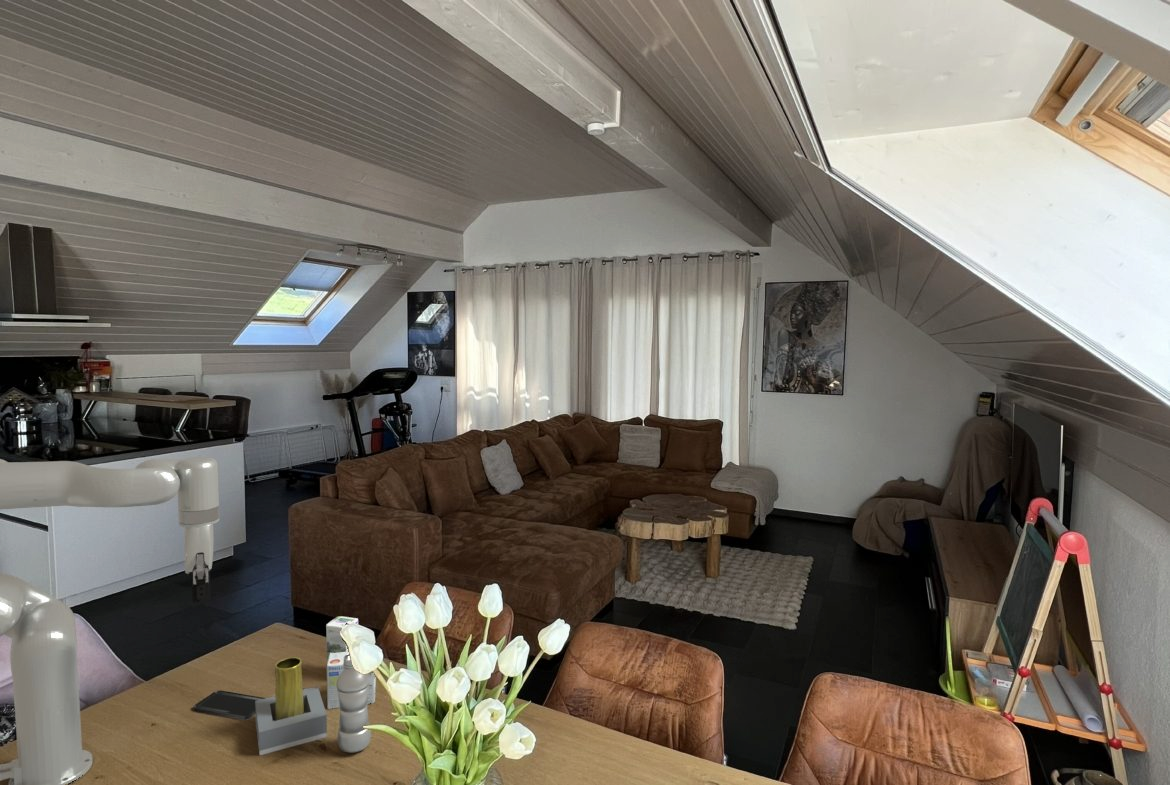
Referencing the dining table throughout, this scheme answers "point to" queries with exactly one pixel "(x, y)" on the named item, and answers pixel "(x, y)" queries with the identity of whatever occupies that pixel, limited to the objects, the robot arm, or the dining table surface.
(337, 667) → the light bulb box
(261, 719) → the socket block
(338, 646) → the syrup box
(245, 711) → the phone
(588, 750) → the dining table surface
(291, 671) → the vase
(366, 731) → the plastic bottle
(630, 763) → the dining table surface
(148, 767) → the dining table surface
